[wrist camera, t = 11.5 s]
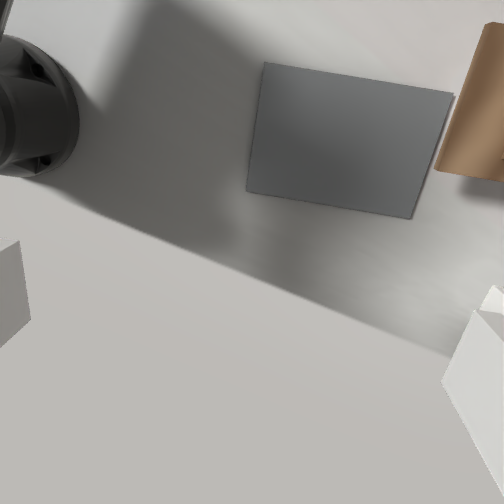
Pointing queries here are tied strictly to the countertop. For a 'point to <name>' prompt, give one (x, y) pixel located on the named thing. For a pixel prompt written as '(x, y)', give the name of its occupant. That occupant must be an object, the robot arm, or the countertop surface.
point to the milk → (494, 300)
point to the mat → (343, 139)
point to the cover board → (479, 114)
